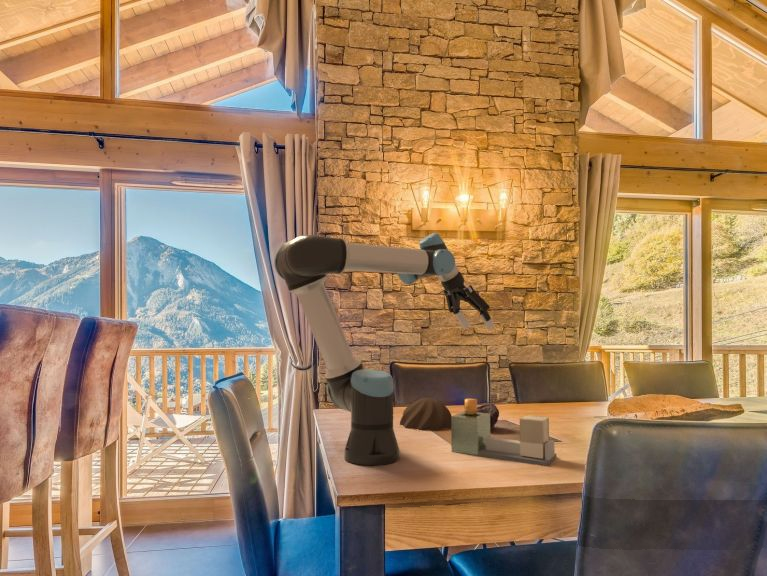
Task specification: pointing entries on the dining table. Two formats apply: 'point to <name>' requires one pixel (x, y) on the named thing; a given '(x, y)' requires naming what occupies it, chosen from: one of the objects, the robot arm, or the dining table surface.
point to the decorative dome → (426, 415)
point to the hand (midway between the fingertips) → (479, 327)
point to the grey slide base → (515, 451)
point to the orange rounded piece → (470, 406)
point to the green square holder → (469, 432)
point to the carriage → (533, 435)
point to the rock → (489, 412)
